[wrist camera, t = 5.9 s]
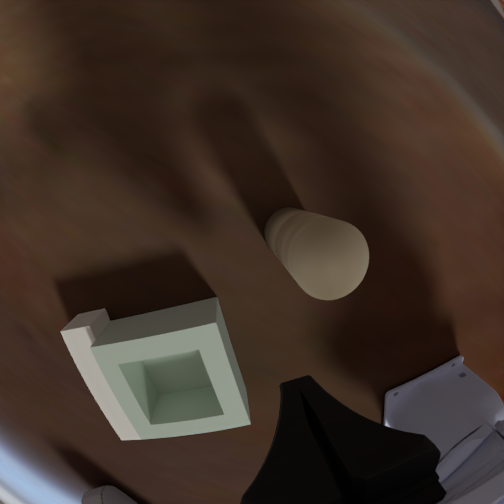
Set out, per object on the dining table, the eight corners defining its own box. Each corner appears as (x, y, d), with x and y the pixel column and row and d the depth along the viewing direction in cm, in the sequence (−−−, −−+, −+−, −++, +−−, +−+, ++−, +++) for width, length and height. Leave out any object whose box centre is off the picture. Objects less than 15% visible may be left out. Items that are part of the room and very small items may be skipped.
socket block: (216, 296, 20) (216, 322, 16) (245, 389, 21) (250, 424, 17) (110, 320, 19) (89, 347, 15) (150, 405, 21) (141, 439, 17)
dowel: (307, 202, 19) (363, 212, 11) (317, 250, 20) (373, 287, 12) (259, 213, 19) (285, 230, 11) (270, 262, 19) (301, 309, 12)
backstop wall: (105, 308, 19) (89, 325, 16) (155, 414, 21) (149, 438, 18) (78, 314, 19) (60, 331, 16) (129, 416, 21) (121, 440, 18)
